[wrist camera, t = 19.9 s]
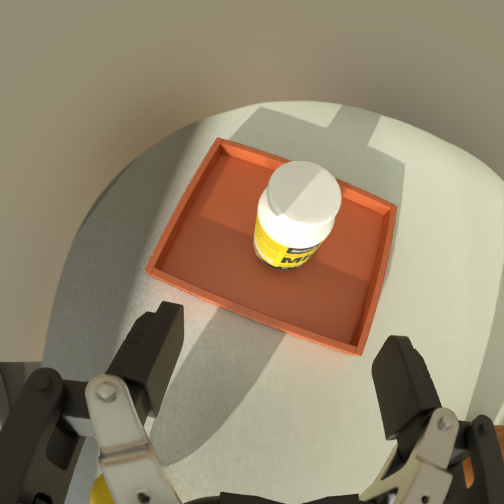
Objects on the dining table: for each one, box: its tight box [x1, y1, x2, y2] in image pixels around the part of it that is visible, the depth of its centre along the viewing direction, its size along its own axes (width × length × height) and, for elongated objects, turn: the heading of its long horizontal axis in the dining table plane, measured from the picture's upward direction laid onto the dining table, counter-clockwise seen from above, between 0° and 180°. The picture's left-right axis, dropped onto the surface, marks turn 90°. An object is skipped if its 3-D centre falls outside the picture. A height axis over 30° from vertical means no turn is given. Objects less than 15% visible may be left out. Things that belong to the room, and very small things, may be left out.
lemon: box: [90, 473, 115, 504], centre depth 12 cm, size 6×6×8 cm
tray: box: [145, 137, 397, 356], centre depth 21 cm, size 17×13×2 cm
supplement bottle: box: [253, 161, 342, 271], centre depth 18 cm, size 5×5×8 cm
